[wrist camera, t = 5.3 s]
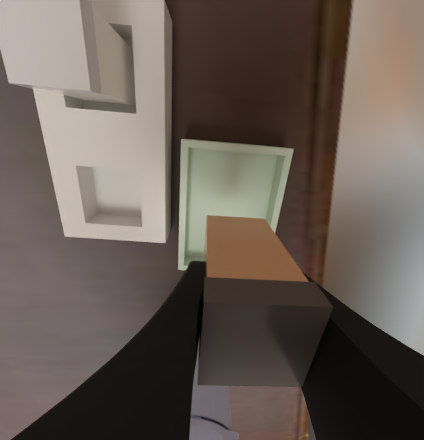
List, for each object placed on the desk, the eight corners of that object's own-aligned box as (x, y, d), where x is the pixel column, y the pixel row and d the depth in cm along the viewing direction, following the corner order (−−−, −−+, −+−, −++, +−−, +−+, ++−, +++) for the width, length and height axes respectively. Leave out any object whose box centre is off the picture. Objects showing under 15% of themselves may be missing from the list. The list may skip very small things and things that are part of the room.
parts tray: (260, 262, 21) (265, 275, 19) (180, 257, 20) (178, 269, 19) (284, 147, 17) (293, 149, 15) (184, 138, 16) (181, 139, 14)
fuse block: (170, 229, 19) (165, 243, 17) (83, 223, 19) (64, 236, 17) (172, 22, 13) (164, -2, 11) (46, 8, 13) (9, -20, 11)
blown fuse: (256, 268, 13) (302, 386, 7) (201, 265, 12) (197, 385, 7) (266, 217, 11) (333, 307, 5) (204, 213, 11) (204, 302, 5)
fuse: (138, 107, 15) (90, 90, 9) (89, 103, 15) (9, 83, 9) (135, 49, 14) (77, -17, 8) (82, 43, 13) (-19, -28, 7)
